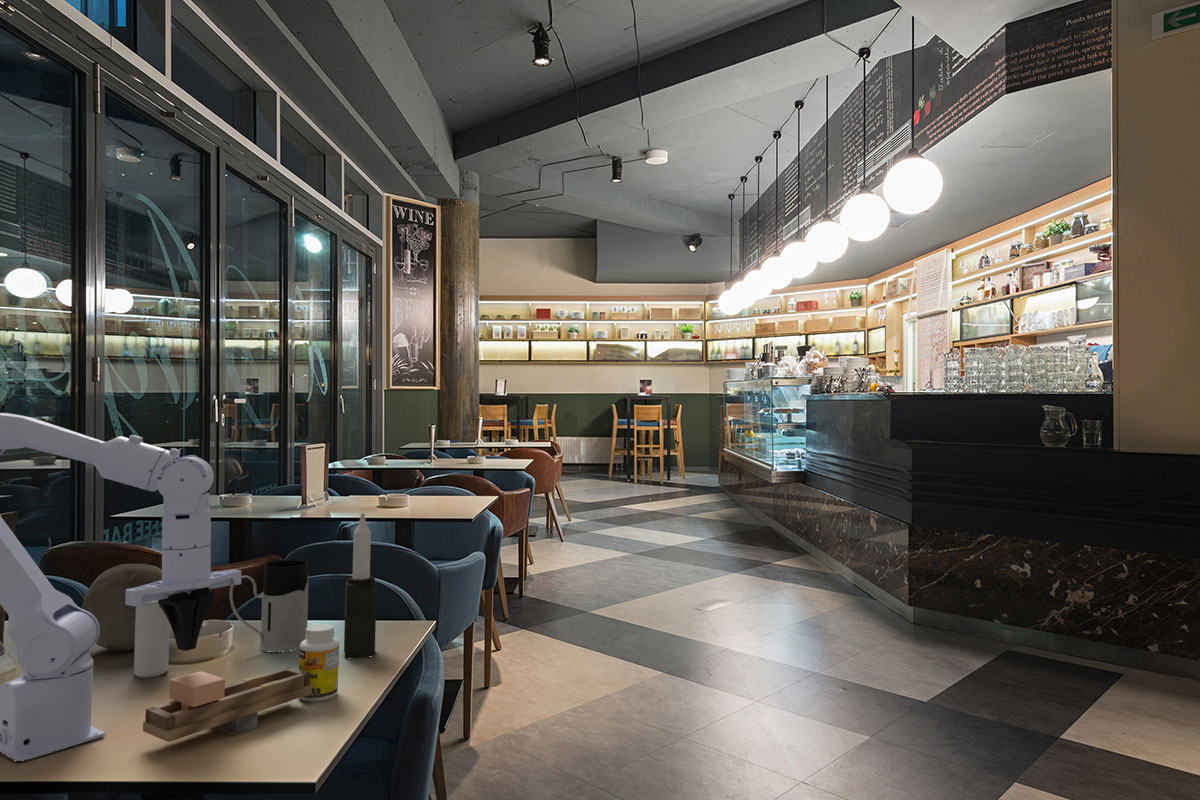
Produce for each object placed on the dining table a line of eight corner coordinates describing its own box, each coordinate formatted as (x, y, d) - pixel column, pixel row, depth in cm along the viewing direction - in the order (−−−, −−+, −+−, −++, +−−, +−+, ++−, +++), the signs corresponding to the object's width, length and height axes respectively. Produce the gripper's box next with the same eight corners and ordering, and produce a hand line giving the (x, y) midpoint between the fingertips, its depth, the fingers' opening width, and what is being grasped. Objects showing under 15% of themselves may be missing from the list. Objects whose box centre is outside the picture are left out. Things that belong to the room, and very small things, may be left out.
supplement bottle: (289, 698, 110) (291, 628, 110) (320, 687, 115) (322, 620, 115) (315, 706, 107) (317, 634, 108) (345, 694, 112) (347, 625, 112)
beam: (168, 759, 89) (170, 718, 89) (141, 747, 93) (142, 707, 93) (312, 708, 106) (313, 673, 106) (284, 699, 110) (285, 665, 110)
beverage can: (151, 679, 117) (154, 603, 118) (125, 677, 118) (128, 601, 119) (175, 670, 122) (177, 596, 123) (149, 668, 123) (152, 595, 124)
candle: (375, 656, 131) (378, 513, 132) (344, 659, 129) (348, 514, 130) (373, 648, 135) (376, 510, 136) (343, 651, 133) (347, 511, 134)
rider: (192, 721, 92) (194, 687, 92) (168, 711, 95) (169, 679, 95) (223, 711, 95) (224, 678, 96) (199, 702, 98) (200, 670, 99)
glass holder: (317, 645, 137) (320, 563, 137) (237, 662, 126) (240, 573, 127) (296, 636, 143) (299, 557, 143) (218, 651, 132) (221, 567, 133)
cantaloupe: (165, 655, 130) (168, 569, 131) (69, 663, 125) (73, 573, 125) (178, 634, 143) (181, 556, 144) (92, 641, 138) (95, 560, 139)
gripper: (146, 557, 91) (146, 669, 91) (254, 540, 104) (254, 638, 103) (116, 553, 95) (116, 660, 95) (224, 537, 107) (224, 632, 107)
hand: (186, 648), depth 99 cm, fingers closed
